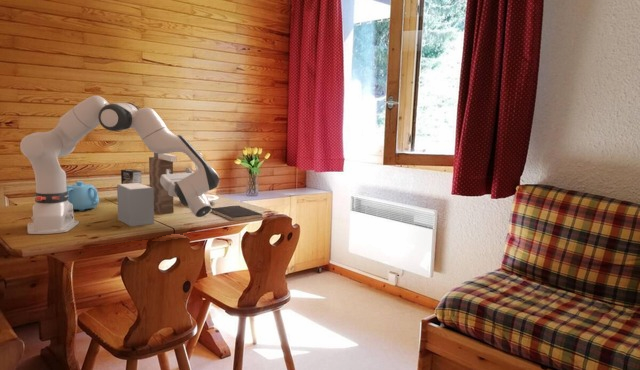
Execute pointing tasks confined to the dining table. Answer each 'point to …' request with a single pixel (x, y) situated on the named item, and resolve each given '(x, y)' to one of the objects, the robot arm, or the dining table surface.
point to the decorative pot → (82, 196)
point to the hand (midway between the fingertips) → (177, 169)
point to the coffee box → (130, 176)
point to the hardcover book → (236, 213)
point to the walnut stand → (161, 196)
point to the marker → (166, 157)
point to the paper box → (135, 204)
